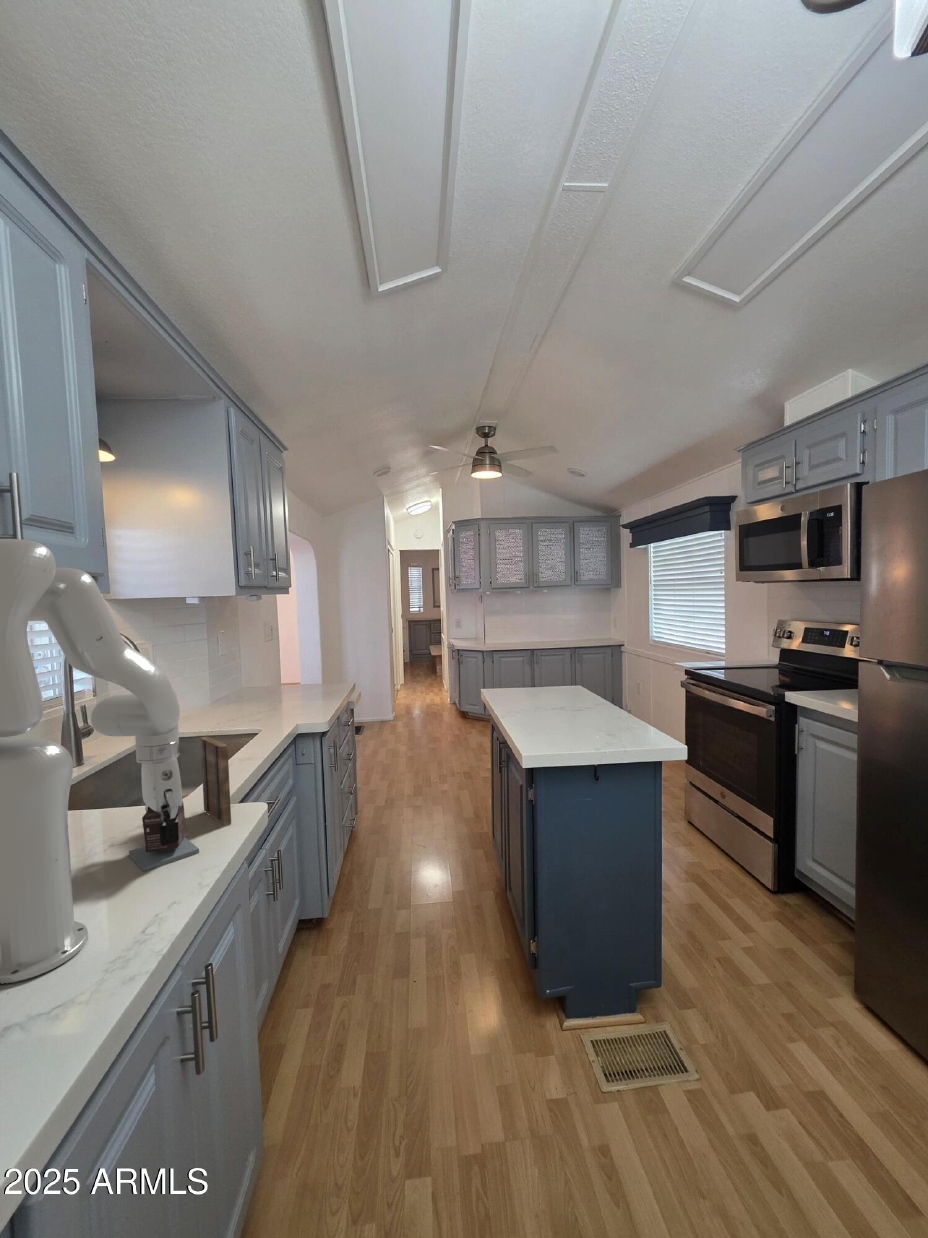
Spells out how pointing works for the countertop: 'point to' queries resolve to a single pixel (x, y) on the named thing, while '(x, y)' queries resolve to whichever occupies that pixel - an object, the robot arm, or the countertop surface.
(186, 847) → the mat
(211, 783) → the brown upright panel
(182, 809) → the box
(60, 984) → the countertop surface
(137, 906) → the countertop surface
